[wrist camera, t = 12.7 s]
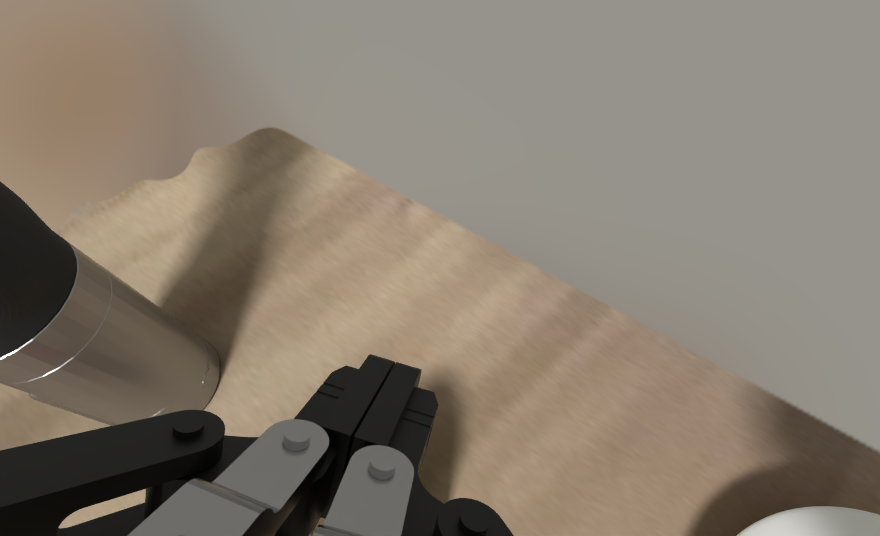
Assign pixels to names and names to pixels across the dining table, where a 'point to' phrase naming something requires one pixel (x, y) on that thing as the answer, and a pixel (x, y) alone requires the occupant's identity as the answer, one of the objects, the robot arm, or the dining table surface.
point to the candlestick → (817, 523)
